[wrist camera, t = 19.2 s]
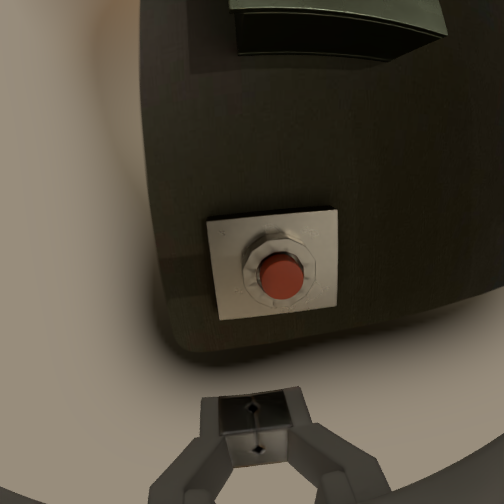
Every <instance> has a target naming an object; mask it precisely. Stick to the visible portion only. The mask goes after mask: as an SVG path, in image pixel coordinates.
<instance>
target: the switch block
mask: <svg viewBox="0 0 504 504" xmlns="http://www.w3.org/2000/svg"><path fill="white" fill-rule="evenodd" d="M206 227H207V235H208V243H209V250H210V258H211V265H212V273H213V280H214V287H215V294H216V301H217V308H218V314H219V320H228V319H238V318H248V317H257V316H266V315H274V314H282V313H290V312H298V311H305V310H312V309H319V308H326V307H333V306H337V285H338V209H336V208H334V207H332V206H330V205H329V206H316V207H303V208H291V209H279V210H268V211H257V212H247V213H237V214H227V215H217V216H208V217H207V220H206ZM277 254H285V255H288V256H290V257H292V258H293V259H294V260H295V261H296V262H297V263H298V265H299V267H300V268H301V270H302V272H303V276H304V281H303V285H302V287H301V289H300V290H299V292H298V293H297V294H296V295H294V296H293V297H291V298H288V299H284V300H278V299H274V298H272V297H270V296H268V295H267V294H266V293H265V291H264V290H263V288H262V284H261V280H260V268H261V266H262V264H263V263H264V262H265V261H266V260H267V259H268V258H269V257H271V256H273V255H277Z"/></svg>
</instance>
